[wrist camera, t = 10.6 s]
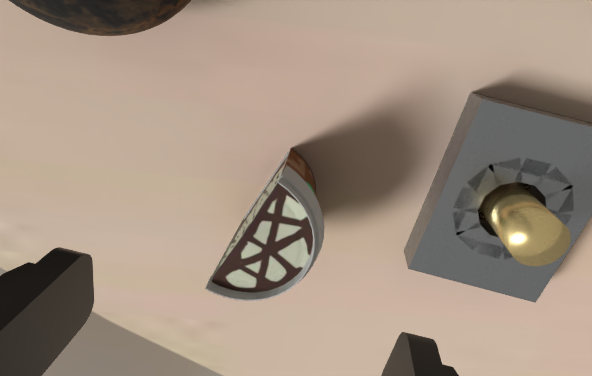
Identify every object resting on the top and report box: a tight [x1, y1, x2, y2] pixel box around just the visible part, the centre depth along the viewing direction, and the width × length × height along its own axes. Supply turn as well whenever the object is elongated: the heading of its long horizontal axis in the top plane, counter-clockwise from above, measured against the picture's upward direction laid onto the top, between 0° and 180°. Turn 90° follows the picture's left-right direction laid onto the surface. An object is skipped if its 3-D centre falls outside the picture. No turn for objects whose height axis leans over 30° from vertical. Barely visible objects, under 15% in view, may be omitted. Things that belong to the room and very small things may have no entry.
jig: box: [404, 93, 592, 302], centre depth 33 cm, size 16×12×3 cm
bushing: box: [479, 182, 571, 266], centre depth 31 cm, size 4×4×8 cm
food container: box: [205, 148, 324, 301], centre depth 32 cm, size 12×6×10 cm, turn 147°
